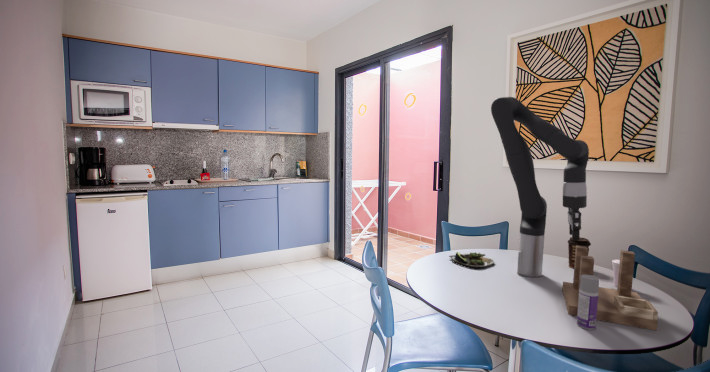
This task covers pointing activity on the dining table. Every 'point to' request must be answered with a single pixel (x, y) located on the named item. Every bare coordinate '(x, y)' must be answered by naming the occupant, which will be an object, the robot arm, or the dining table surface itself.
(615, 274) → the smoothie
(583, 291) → the container
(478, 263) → the salad plate
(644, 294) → the dining table surface
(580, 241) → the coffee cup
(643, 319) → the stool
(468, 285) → the dining table surface
